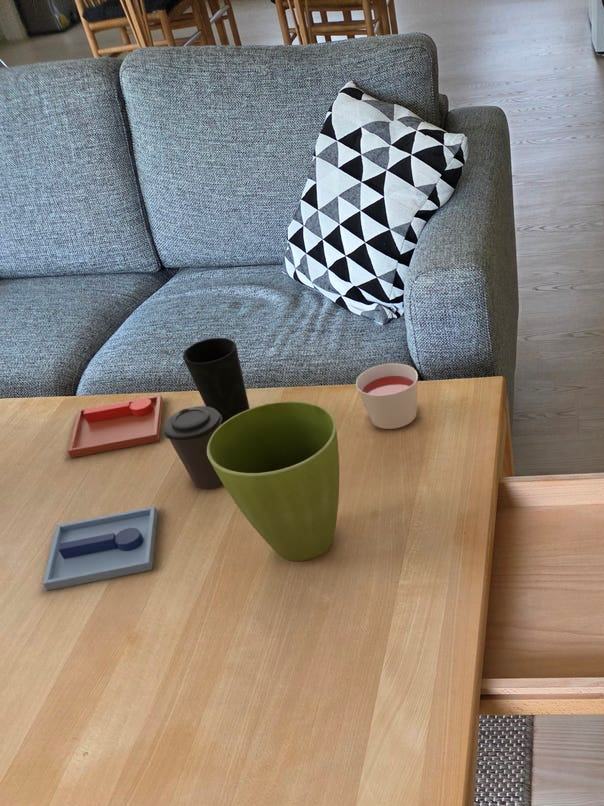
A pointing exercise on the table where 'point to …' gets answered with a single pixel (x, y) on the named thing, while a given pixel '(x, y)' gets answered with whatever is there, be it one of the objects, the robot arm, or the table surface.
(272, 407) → the flower pot
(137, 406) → the red spoon
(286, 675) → the table surface
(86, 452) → the red tray
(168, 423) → the coffee cup
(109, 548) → the blue spoon
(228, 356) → the cup
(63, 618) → the table surface
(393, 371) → the candle
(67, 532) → the blue tray
